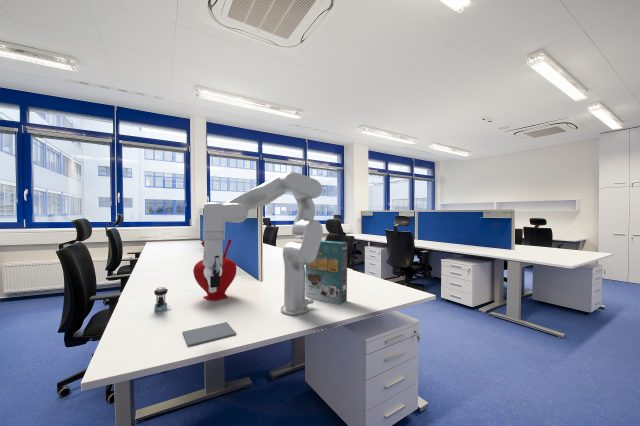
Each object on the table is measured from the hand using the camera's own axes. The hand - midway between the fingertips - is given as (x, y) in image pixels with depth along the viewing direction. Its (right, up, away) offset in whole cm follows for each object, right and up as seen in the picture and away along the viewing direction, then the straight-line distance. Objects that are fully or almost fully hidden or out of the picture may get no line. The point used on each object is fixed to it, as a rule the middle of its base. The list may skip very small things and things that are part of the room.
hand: (212, 284), depth 99 cm
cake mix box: (+42, -19, +42) cm, 63 cm away
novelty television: (-15, -18, +42) cm, 48 cm away
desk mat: (-1, -18, -1) cm, 18 cm away
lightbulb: (0, -3, 0) cm, 3 cm away
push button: (-32, -18, +23) cm, 43 cm away
